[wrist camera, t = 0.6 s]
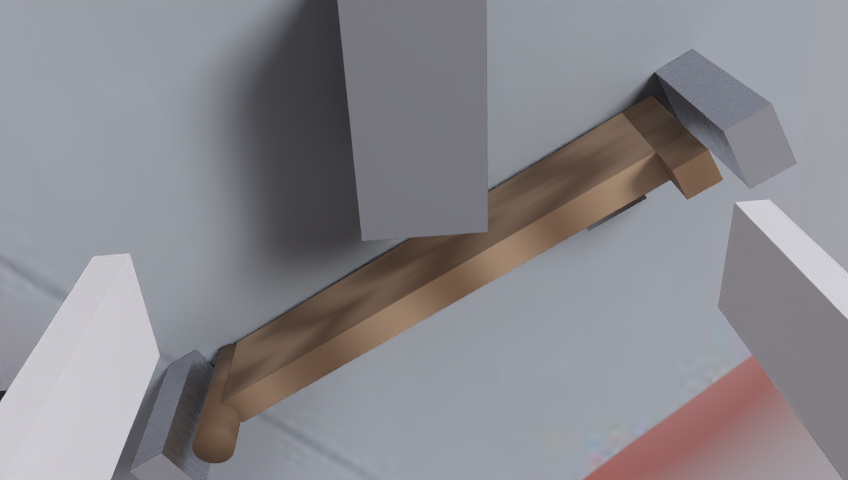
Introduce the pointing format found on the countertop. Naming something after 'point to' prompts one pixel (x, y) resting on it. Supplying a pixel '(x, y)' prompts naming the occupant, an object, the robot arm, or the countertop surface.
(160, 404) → the grey blocks
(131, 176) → the countertop surface
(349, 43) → the rubber block
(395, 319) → the gate
